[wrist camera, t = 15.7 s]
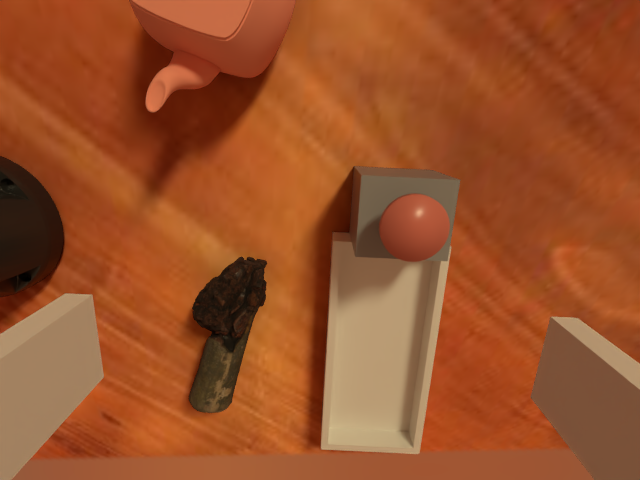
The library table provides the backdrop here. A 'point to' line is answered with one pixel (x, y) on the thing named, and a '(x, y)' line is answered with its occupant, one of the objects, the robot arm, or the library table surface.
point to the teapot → (211, 40)
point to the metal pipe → (226, 330)
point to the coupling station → (386, 309)
